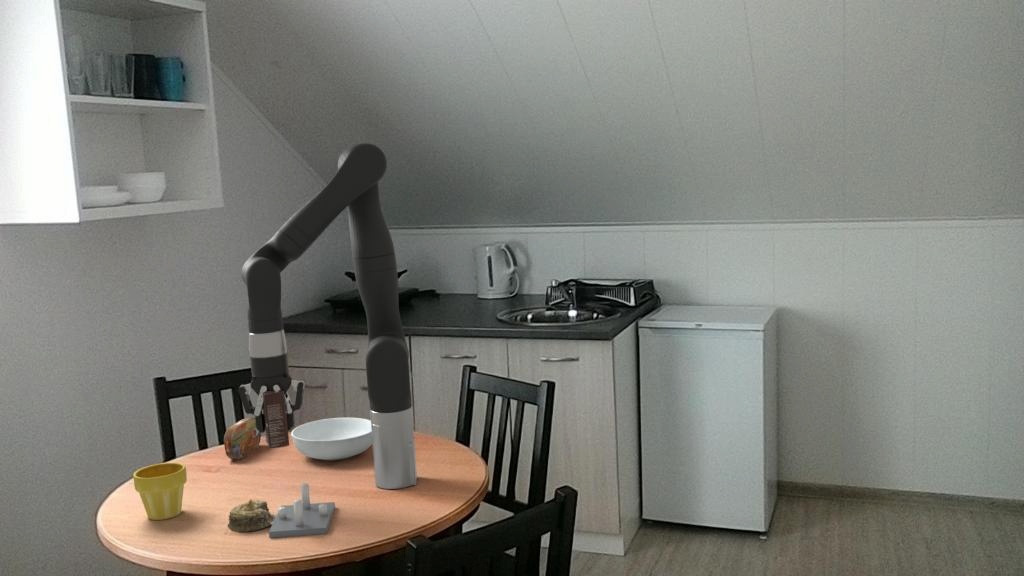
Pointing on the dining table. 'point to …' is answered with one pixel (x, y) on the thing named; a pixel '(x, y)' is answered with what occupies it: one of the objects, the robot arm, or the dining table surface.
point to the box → (275, 419)
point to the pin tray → (307, 520)
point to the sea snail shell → (250, 516)
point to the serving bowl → (333, 438)
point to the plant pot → (161, 489)
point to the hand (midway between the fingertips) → (276, 430)
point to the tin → (242, 438)
